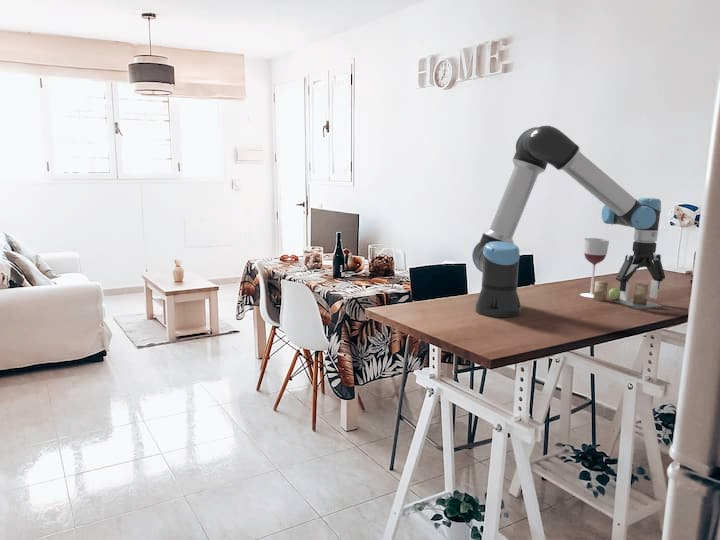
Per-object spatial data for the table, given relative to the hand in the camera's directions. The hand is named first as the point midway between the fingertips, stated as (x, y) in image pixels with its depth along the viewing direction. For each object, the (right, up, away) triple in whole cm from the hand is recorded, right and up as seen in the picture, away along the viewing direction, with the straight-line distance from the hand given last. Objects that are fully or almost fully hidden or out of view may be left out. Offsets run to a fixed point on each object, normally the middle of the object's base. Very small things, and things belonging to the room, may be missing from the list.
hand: (638, 299), depth 206 cm
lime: (-5, -1, +8) cm, 10 cm away
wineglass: (-11, 0, +14) cm, 18 cm away
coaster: (0, -2, 0) cm, 2 cm away
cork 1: (-11, -1, +7) cm, 13 cm away
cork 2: (+1, -1, 0) cm, 2 cm away
